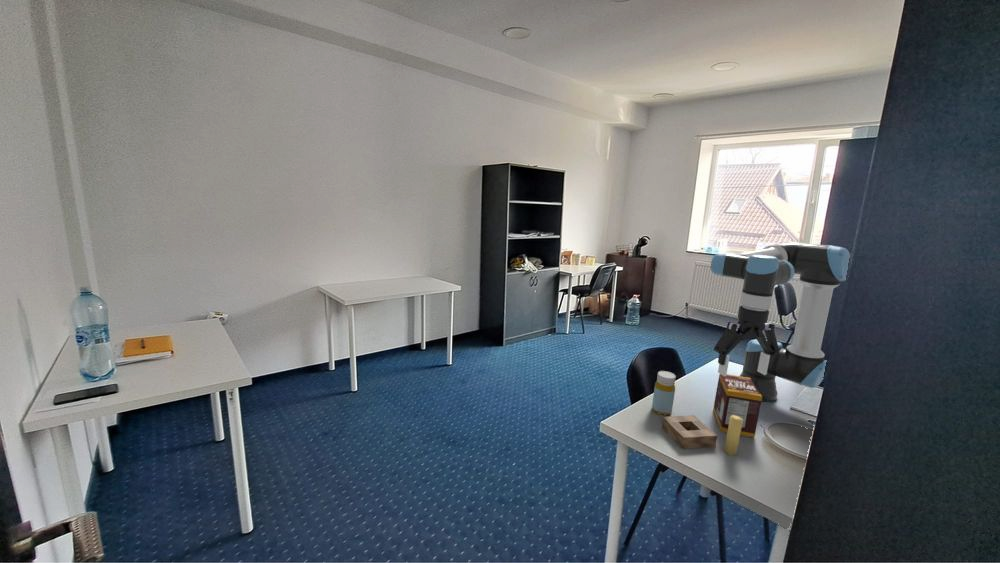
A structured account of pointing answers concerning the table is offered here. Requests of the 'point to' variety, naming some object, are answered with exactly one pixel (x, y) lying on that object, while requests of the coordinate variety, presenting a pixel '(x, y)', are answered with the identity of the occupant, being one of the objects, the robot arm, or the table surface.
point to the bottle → (664, 393)
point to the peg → (733, 435)
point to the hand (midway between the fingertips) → (741, 373)
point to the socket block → (689, 431)
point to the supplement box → (737, 403)
